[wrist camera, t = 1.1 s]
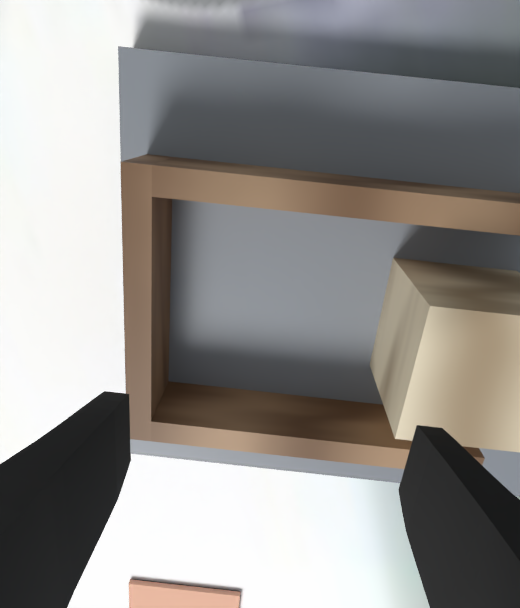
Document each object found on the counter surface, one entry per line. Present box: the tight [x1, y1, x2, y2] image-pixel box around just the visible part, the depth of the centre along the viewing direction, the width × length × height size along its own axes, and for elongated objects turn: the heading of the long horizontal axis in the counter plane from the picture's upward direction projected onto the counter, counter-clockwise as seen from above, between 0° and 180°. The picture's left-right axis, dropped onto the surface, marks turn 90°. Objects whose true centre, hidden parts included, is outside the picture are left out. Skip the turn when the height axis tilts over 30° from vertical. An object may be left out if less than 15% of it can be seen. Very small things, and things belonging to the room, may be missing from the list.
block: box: [370, 258, 520, 452], centre depth 17 cm, size 5×5×5 cm
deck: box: [118, 46, 520, 496], centre depth 20 cm, size 34×18×2 cm, turn 85°
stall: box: [121, 154, 520, 469], centre depth 18 cm, size 14×11×3 cm
